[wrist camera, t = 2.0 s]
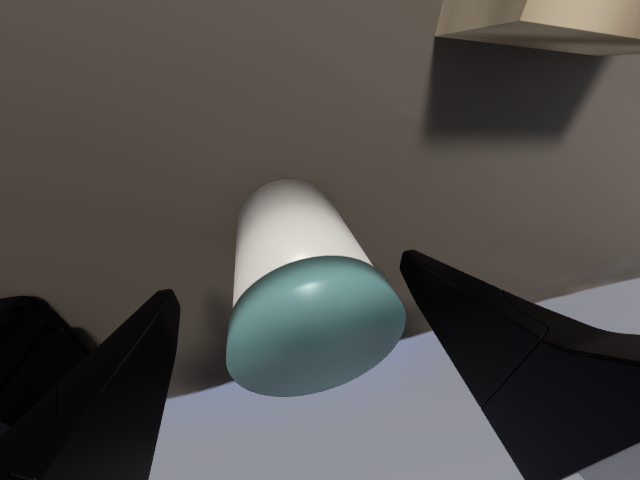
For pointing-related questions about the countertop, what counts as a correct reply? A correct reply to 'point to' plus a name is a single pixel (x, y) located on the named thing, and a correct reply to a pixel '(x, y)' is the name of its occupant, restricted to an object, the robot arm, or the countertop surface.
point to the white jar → (304, 296)
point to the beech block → (546, 24)
